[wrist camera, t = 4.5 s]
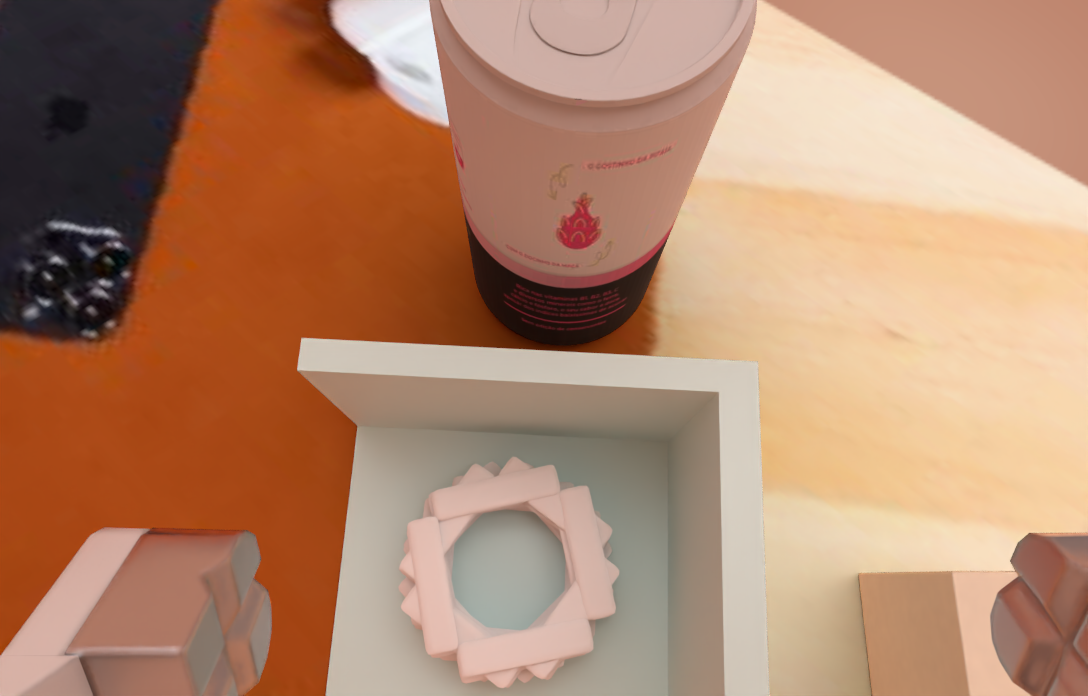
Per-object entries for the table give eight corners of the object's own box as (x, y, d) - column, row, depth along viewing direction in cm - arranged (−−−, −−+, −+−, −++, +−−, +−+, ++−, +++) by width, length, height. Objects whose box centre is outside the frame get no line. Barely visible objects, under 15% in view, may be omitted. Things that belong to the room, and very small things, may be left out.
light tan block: (875, 736, 25) (982, 783, 19) (857, 573, 26) (951, 571, 20) (999, 735, 25) (1142, 782, 19) (974, 573, 26) (1100, 571, 20)
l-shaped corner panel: (360, 401, 27) (301, 338, 20) (697, 418, 27) (757, 361, 20) (315, 779, 24) (224, 864, 17) (701, 797, 24) (776, 889, 17)
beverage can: (667, 214, 30) (798, -126, 15) (622, 371, 28) (725, 151, 14) (505, 169, 30) (486, -204, 16) (450, 320, 28) (374, 54, 14)
